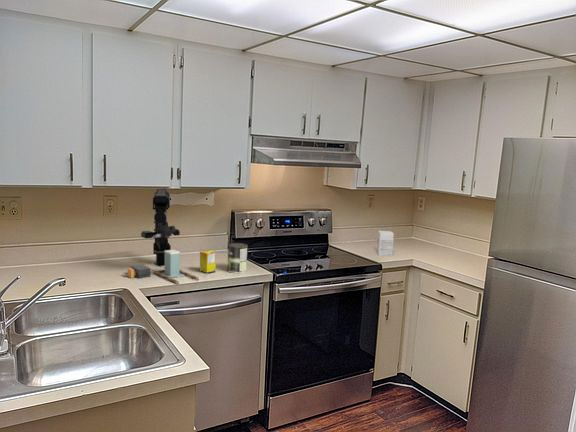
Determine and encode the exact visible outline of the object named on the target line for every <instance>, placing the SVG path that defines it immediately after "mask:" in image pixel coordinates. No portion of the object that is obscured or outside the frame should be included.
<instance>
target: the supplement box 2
mask: <svg viewBox="0 0 576 432" xmlns="http://www.w3.org/2000/svg"><path fill="white" fill-rule="evenodd" d="M394 237H395V233H394V232H393V231H392V230H378V232H377V244H376V245H377V246H376V253H377V255H378V256H379V257H380V256H381V257H382V256H383V257H393V251H394V239H395V238H394Z"/></svg>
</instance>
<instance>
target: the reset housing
mask: <svg viewBox="0 0 576 432" xmlns="http://www.w3.org/2000/svg"><path fill="white" fill-rule="evenodd" d="M130 268H132V269H134V270H136V275H135V278H137V279H144V278H150V277H151V268H150V267H149V266H146V265H144V264H136V265H130Z"/></svg>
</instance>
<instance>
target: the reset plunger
mask: <svg viewBox="0 0 576 432" xmlns="http://www.w3.org/2000/svg"><path fill="white" fill-rule="evenodd" d="M126 274H127V277H129V278H130V279H134V278H135V277H136V270H134V269H132V268H131V267H127V272H126Z"/></svg>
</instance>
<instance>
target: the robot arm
mask: <svg viewBox="0 0 576 432" xmlns="http://www.w3.org/2000/svg"><path fill="white" fill-rule="evenodd" d="M170 196H171V195H170V193H169V192H168V191H167V188H163V189H158V188H156V192H155V193H154V195H153V197H152V210H154V216H153V218H154V219H153V223H154V228H153V231H151V230H142V231H141V232H140V237H142V238H144V239H152V238H153V239H154V242H153V245H152V246H153V250H152V251H153V253H152V254H153V255H155V262H153V264H154V265H155V266H158V267H162V266H165V252H164V251H166V250H172V249H171V247H172V246H171V244H170V242H169V238H170V237H171V236H172V235H174V236H180V234H181V233H180V229H178V228H176V226H175V225H169V223H168V221H167V216H168V215H167V213H168V212H167V210H169V208H170V206H171V205H170V204H171V203H170V202H171V197H170Z"/></svg>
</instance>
